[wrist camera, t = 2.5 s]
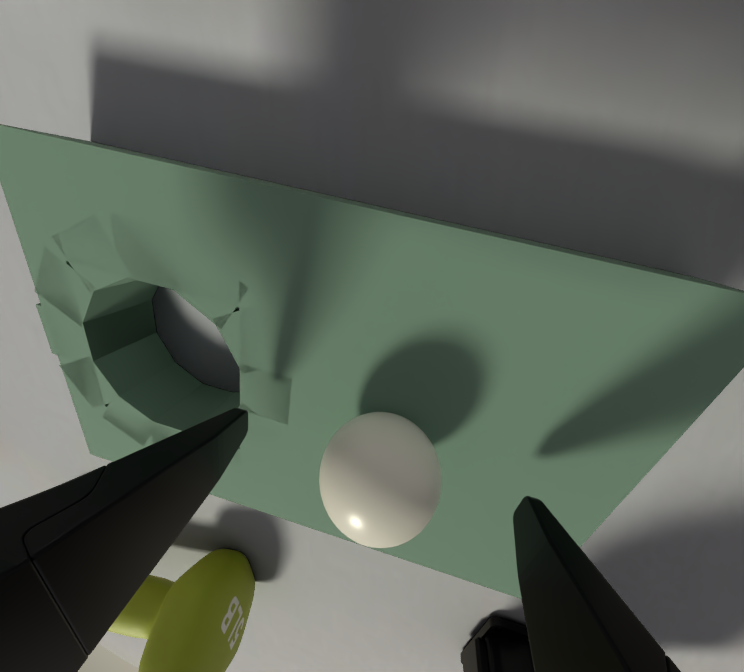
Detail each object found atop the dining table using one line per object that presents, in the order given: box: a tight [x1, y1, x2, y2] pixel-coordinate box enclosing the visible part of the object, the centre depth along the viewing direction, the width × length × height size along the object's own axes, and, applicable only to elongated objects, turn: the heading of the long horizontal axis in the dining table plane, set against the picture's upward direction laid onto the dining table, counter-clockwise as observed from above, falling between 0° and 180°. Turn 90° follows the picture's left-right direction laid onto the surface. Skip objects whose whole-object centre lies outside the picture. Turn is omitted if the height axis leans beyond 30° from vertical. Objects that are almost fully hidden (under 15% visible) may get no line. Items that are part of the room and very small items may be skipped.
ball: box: [319, 412, 442, 548], centre depth 9 cm, size 4×4×4 cm
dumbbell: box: [108, 549, 255, 672], centre depth 21 cm, size 16×8×7 cm, turn 93°
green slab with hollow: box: [0, 124, 744, 599], centre depth 12 cm, size 22×14×3 cm, turn 79°
